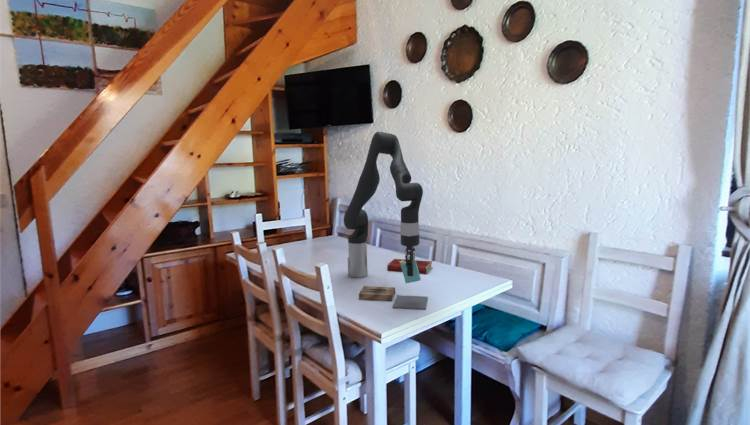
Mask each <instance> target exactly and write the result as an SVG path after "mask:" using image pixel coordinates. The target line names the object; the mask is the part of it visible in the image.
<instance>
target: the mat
mask: <svg viewBox="0 0 750 425" xmlns="http://www.w3.org/2000/svg"><path fill="white" fill-rule="evenodd" d="M428 299H429V296H422V295H420V296H419V295H403V294H400V295H399V294H398V295H397V294H396V297H395V299H394V302H393V305H392V309H402V310H403V309H405V310H424V311H426V310H427V303H428Z"/></svg>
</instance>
